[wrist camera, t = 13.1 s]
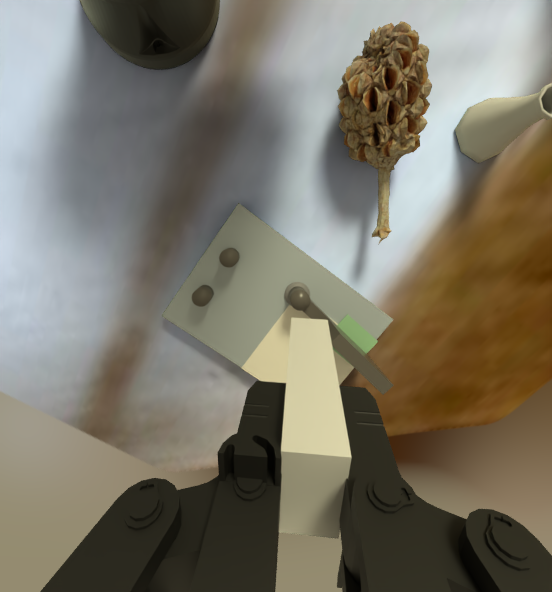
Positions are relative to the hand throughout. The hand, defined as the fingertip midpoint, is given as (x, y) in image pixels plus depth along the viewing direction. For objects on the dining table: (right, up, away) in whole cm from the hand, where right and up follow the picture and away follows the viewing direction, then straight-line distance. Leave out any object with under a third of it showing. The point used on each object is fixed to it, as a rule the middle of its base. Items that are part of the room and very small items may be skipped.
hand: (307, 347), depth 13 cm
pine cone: (+11, +20, +26) cm, 35 cm away
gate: (+6, -2, +28) cm, 29 cm away
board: (-1, 0, +30) cm, 30 cm away
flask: (+25, +23, +26) cm, 43 cm away
